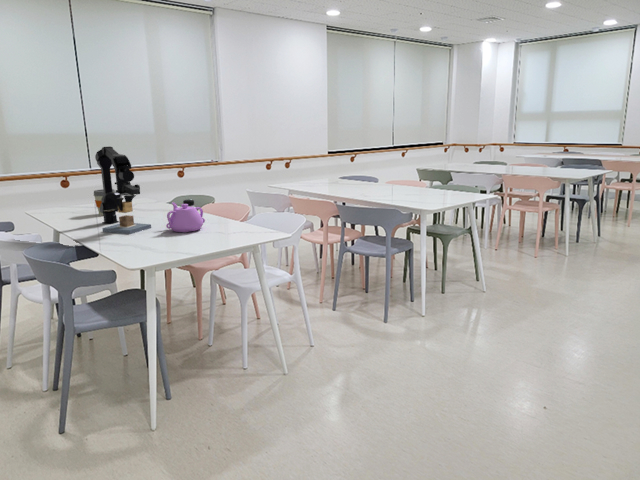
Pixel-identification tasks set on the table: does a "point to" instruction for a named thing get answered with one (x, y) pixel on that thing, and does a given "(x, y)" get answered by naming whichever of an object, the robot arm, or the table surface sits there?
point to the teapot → (185, 218)
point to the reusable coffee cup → (99, 199)
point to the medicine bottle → (189, 203)
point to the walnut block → (126, 221)
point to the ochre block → (126, 207)
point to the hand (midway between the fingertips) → (125, 209)
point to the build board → (127, 228)
